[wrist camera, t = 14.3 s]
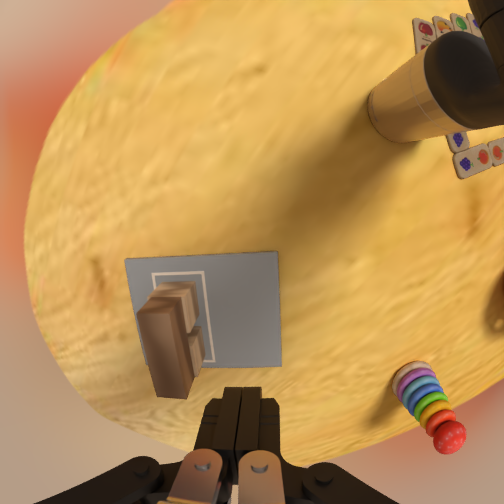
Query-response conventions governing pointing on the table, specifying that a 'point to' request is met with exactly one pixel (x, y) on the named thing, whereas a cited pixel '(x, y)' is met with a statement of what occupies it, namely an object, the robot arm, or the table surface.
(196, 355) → the pillar
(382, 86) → the robot arm
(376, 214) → the table surface
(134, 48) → the table surface
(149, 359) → the lintel
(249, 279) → the board
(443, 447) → the stacking toy
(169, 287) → the tan wooden cube
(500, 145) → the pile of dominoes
